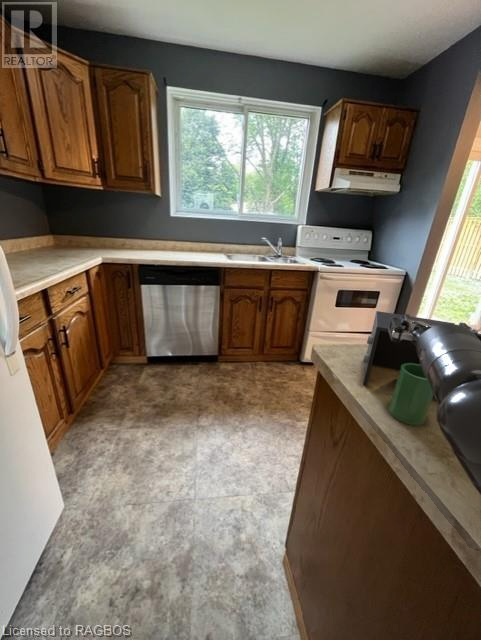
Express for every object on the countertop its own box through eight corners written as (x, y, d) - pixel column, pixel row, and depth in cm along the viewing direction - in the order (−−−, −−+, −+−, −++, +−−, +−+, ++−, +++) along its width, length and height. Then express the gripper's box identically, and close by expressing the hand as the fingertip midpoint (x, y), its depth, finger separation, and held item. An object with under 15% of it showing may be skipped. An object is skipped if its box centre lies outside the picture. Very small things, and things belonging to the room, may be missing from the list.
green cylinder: (421, 410, 56) (436, 367, 52) (426, 429, 51) (443, 383, 47) (388, 401, 58) (400, 360, 55) (389, 418, 53) (402, 374, 49)
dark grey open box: (435, 377, 68) (454, 323, 63) (447, 406, 57) (471, 343, 52) (360, 360, 75) (372, 310, 70) (358, 383, 64) (371, 325, 59)
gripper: (537, 347, 32) (487, 310, 46) (400, 323, 37) (393, 297, 51) (512, 400, 34) (472, 350, 48) (387, 371, 40) (384, 334, 54)
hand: (431, 323), depth 50 cm, fingers open, 8 cm apart
